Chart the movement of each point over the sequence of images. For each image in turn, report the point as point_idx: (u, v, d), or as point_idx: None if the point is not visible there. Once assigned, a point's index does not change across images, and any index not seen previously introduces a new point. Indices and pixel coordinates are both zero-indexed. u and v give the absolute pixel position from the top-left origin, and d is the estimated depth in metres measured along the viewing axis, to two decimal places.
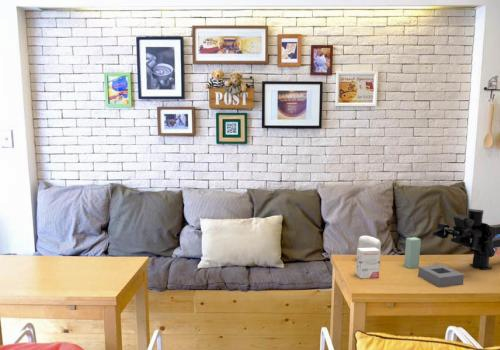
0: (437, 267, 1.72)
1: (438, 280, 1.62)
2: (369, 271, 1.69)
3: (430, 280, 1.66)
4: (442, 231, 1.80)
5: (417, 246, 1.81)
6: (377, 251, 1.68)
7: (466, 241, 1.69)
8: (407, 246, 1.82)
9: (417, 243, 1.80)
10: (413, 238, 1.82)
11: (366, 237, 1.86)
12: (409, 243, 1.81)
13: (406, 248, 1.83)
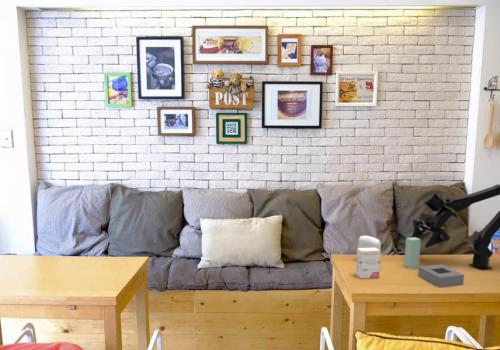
0: (437, 267, 1.72)
1: (438, 280, 1.62)
2: (369, 271, 1.69)
3: (430, 280, 1.66)
4: (418, 231, 1.88)
5: (417, 246, 1.81)
6: (377, 251, 1.68)
7: (439, 238, 1.78)
8: (407, 246, 1.82)
9: (417, 243, 1.80)
10: (413, 238, 1.82)
11: (366, 237, 1.86)
12: (409, 243, 1.81)
13: (406, 248, 1.83)
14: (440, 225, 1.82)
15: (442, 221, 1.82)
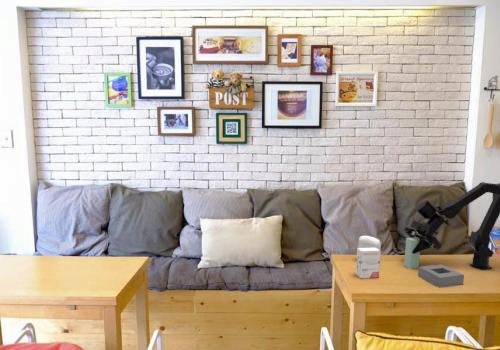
0: (437, 267, 1.72)
1: (438, 280, 1.62)
2: (369, 271, 1.69)
3: (430, 280, 1.66)
4: None
5: None
6: (377, 251, 1.68)
7: (426, 244, 1.79)
8: (407, 246, 1.82)
9: (417, 243, 1.80)
10: (413, 238, 1.82)
11: (366, 237, 1.86)
12: (409, 243, 1.81)
13: (406, 248, 1.83)
14: (432, 233, 1.81)
15: (434, 229, 1.81)
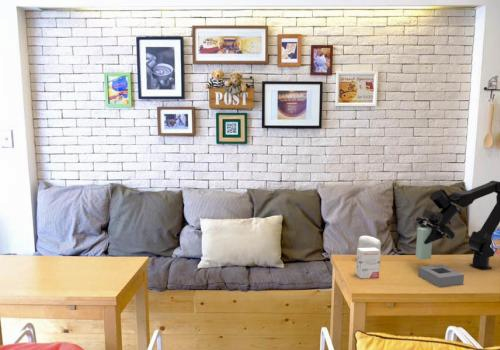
0: (437, 267, 1.72)
1: (438, 280, 1.62)
2: (369, 271, 1.69)
3: (430, 280, 1.66)
4: None
5: None
6: (377, 251, 1.68)
7: (438, 234, 1.73)
8: (419, 236, 1.75)
9: (429, 233, 1.74)
10: (425, 228, 1.76)
11: (366, 237, 1.86)
12: (421, 233, 1.74)
13: (418, 238, 1.76)
14: (444, 222, 1.74)
15: (446, 218, 1.74)
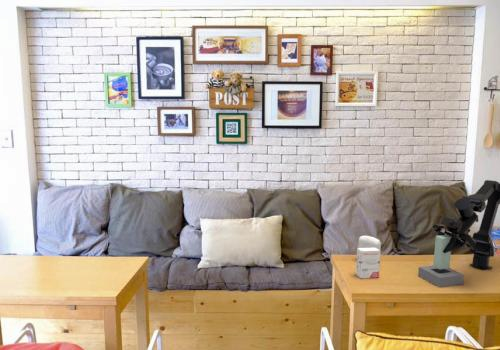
0: None
1: (438, 280, 1.62)
2: (369, 271, 1.69)
3: (430, 280, 1.66)
4: None
5: None
6: (377, 251, 1.68)
7: (458, 243, 1.64)
8: (437, 245, 1.67)
9: (448, 242, 1.65)
10: (443, 236, 1.67)
11: (366, 237, 1.86)
12: (439, 241, 1.65)
13: (436, 247, 1.67)
14: (464, 230, 1.65)
15: (466, 226, 1.66)
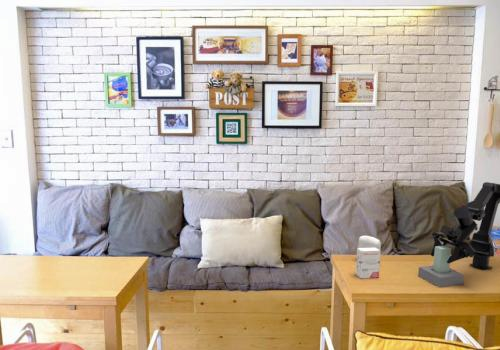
0: None
1: (438, 280, 1.62)
2: (369, 271, 1.69)
3: (430, 280, 1.66)
4: (439, 244, 1.72)
5: (447, 255, 1.66)
6: (377, 251, 1.68)
7: (462, 253, 1.62)
8: (436, 255, 1.67)
9: (447, 252, 1.66)
10: (443, 247, 1.67)
11: (366, 237, 1.86)
12: (438, 252, 1.66)
13: (435, 257, 1.68)
14: (463, 238, 1.66)
15: (465, 234, 1.66)
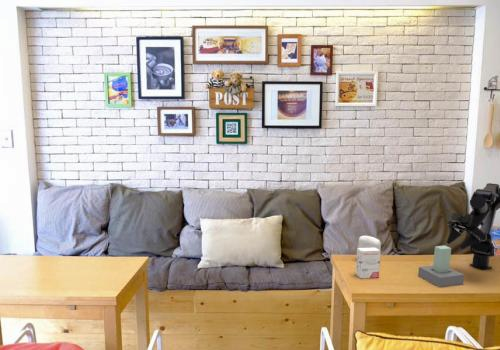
0: None
1: (438, 280, 1.62)
2: (369, 271, 1.69)
3: (430, 280, 1.66)
4: (454, 232, 1.77)
5: (447, 255, 1.66)
6: (377, 251, 1.68)
7: (474, 238, 1.65)
8: (436, 255, 1.67)
9: (447, 252, 1.66)
10: (443, 247, 1.67)
11: (366, 237, 1.86)
12: (438, 252, 1.66)
13: (435, 257, 1.68)
14: (476, 224, 1.69)
15: (478, 219, 1.69)
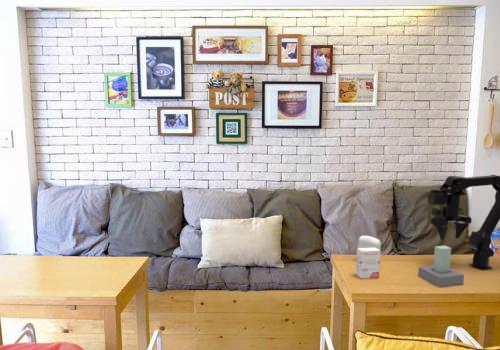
0: None
1: (438, 280, 1.62)
2: (369, 271, 1.69)
3: (430, 280, 1.66)
4: (457, 225, 1.83)
5: (447, 255, 1.66)
6: (377, 251, 1.68)
7: None
8: (436, 255, 1.67)
9: (447, 252, 1.66)
10: (443, 247, 1.67)
11: (366, 237, 1.86)
12: (438, 252, 1.66)
13: (435, 257, 1.68)
14: (447, 212, 1.79)
15: (446, 207, 1.79)
